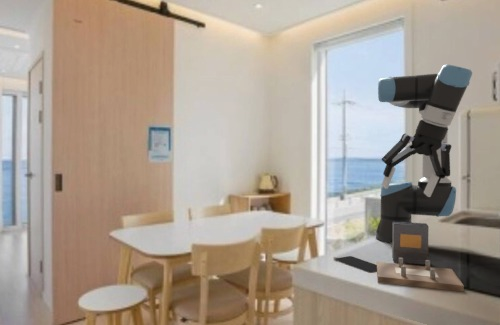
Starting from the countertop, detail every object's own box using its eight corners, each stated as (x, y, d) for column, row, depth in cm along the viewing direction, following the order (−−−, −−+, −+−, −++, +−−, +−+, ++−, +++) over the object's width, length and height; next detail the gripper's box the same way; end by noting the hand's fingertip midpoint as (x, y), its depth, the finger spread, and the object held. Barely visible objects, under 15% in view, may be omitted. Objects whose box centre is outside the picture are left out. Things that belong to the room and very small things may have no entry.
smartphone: (369, 272, 101) (333, 258, 114) (369, 274, 101) (333, 260, 115) (387, 268, 105) (350, 255, 118) (387, 270, 105) (350, 257, 118)
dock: (451, 274, 101) (451, 260, 101) (463, 291, 88) (463, 275, 88) (376, 266, 107) (376, 253, 107) (377, 282, 94) (377, 267, 94)
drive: (425, 260, 114) (426, 223, 114) (428, 265, 110) (428, 226, 110) (392, 257, 118) (392, 221, 118) (393, 261, 113) (393, 224, 113)
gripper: (398, 117, 93) (371, 188, 100) (484, 135, 96) (451, 204, 103) (387, 110, 100) (362, 177, 107) (467, 128, 103) (437, 192, 110)
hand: (405, 190), depth 105 cm, fingers open, 13 cm apart
